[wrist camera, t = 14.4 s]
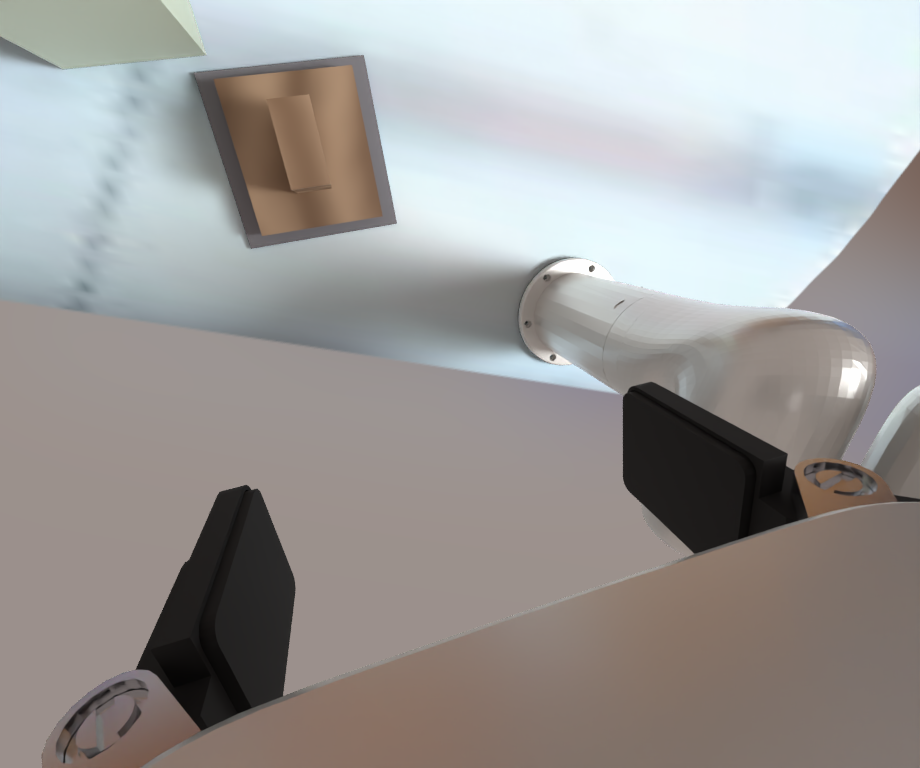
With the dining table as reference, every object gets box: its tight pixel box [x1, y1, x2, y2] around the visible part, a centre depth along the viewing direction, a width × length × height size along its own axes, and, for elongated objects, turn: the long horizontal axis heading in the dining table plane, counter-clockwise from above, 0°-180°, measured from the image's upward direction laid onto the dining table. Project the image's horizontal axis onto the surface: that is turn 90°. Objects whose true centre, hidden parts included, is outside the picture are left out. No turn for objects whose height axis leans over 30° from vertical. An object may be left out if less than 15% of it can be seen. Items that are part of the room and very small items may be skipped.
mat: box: [194, 55, 397, 249], centre depth 40 cm, size 14×14×1 cm
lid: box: [214, 65, 383, 236], centre depth 36 cm, size 11×12×8 cm
